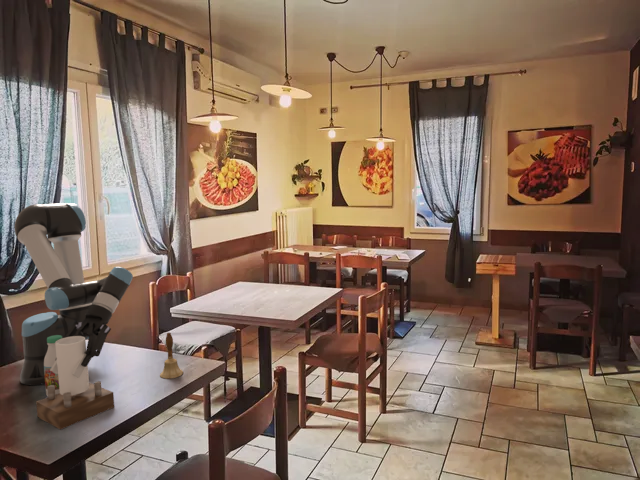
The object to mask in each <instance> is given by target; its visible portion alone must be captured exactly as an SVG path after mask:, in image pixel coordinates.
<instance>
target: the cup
mask: <svg viewBox="0 0 640 480" xmlns="http://www.w3.org/2000/svg"><path fill="white" fill-rule="evenodd" d="M86 342H87V341H86V340H85V337H83V336H71V337H66V338H62V339H59V340H57V341H56V342H55V346H56V357H57V367H58V378H59V389H60V394H61V395H63V394H64V393H67V392H70V393H71V395H76V394H80V393H82V392H85V391H86V390H88V389H89V383H90V380H89V379H90V377H89V370H88V369H89V368H88V365H89V364H88V365H87V366H86V367H85V368H84V370H83V372H82V374H81V375H80V377H79V378H77V377H76V376H74V375H73V374H72V372H73V370H74V369H75V367H76V365H77V363H78V362H79V360H80V358H81V357H82V355H83V354H85V353H86V350H87V345H86V344H87V343H86ZM84 352H85V353H84ZM85 355H86V354H85Z"/></svg>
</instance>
